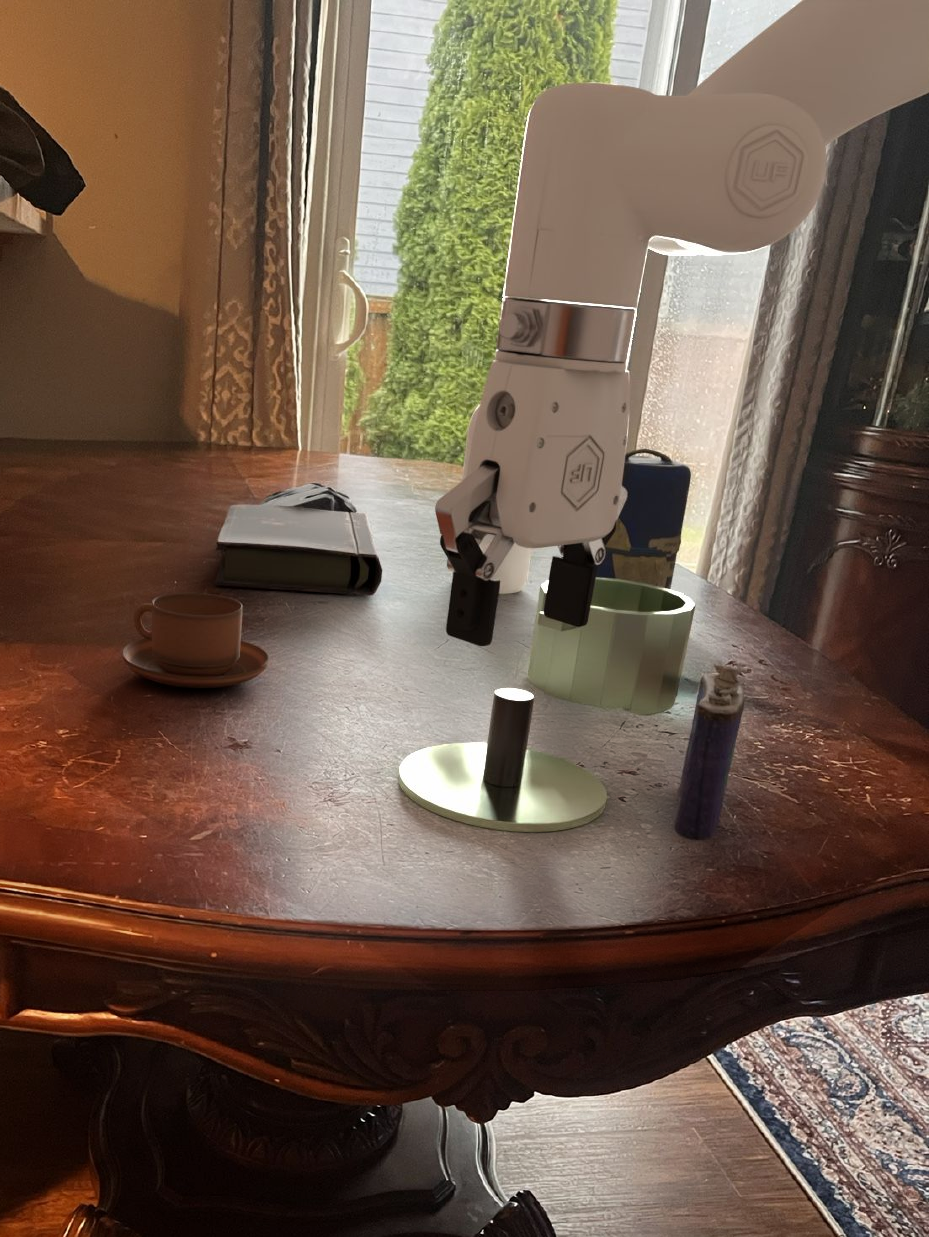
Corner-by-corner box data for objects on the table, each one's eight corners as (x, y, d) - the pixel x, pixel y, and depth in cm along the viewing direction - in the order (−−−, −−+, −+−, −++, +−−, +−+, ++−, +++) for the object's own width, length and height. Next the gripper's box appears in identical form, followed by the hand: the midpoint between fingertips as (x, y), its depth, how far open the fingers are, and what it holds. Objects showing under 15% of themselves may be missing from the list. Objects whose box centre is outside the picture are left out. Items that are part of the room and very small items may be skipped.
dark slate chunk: (361, 509, 177) (363, 477, 175) (363, 537, 157) (366, 501, 155) (260, 501, 177) (261, 469, 175) (249, 528, 157) (251, 492, 155)
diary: (368, 551, 149) (371, 511, 147) (380, 598, 126) (384, 552, 124) (222, 541, 148) (223, 500, 146) (207, 587, 125) (208, 540, 123)
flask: (675, 791, 81) (707, 642, 77) (719, 799, 80) (754, 649, 76) (668, 844, 73) (703, 681, 69) (717, 853, 72) (755, 689, 68)
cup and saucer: (103, 690, 92) (102, 614, 90) (145, 649, 103) (145, 580, 101) (252, 707, 91) (255, 630, 89) (278, 663, 102) (282, 594, 100)
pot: (718, 693, 103) (739, 598, 100) (600, 732, 92) (619, 626, 88) (599, 656, 111) (615, 568, 108) (477, 687, 100) (490, 589, 96)
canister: (673, 643, 118) (709, 459, 111) (580, 636, 118) (610, 451, 110) (648, 618, 127) (680, 446, 119) (561, 612, 126) (588, 439, 119)
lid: (645, 807, 78) (665, 706, 75) (516, 861, 69) (533, 748, 66) (486, 744, 87) (499, 651, 84) (354, 784, 78) (363, 682, 75)
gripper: (521, 339, 59) (474, 666, 66) (700, 350, 70) (644, 629, 77) (412, 326, 64) (380, 632, 70) (596, 339, 75) (553, 602, 82)
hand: (518, 630), depth 74 cm, fingers open, 9 cm apart
